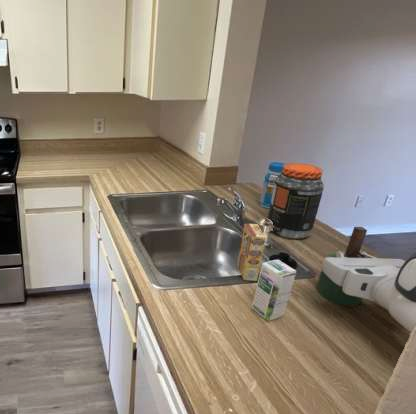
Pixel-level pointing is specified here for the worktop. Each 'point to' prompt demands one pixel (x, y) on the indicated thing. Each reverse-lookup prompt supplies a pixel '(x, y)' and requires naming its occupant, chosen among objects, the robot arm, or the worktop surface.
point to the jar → (335, 290)
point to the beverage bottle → (270, 183)
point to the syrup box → (273, 289)
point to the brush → (355, 242)
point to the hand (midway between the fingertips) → (349, 253)
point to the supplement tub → (296, 200)
